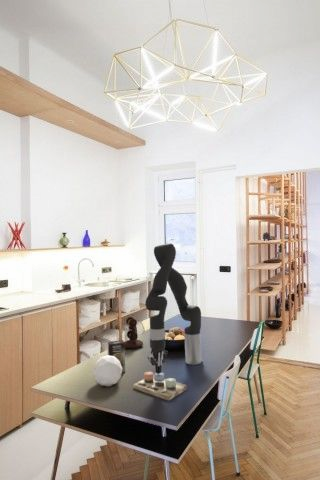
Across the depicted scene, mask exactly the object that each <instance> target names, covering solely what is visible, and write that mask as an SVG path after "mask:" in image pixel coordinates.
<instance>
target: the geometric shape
mask: <svg viewBox="0 0 320 480" xmlns="http://www.w3.org/2000/svg"><path fill="white" fill-rule="evenodd" d="M122 373H123V372H122V366H121V363H120V361H119V360H118V359H117V358H116V357H115V356H109V355H108V354H106V355H103V356H101V357H99V358H98V359H97V361H96V362H95V364H94V367H93V371H92V374H93V377H94V378H95V381H96V382H97V383H98V384H99V386H103V387H104V386H105V387H111V386H113V385H115V384H117V383H118V381H119V380H120V379H121V378H122Z"/></svg>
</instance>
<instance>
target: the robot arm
mask: <svg viewBox="0 0 320 480" xmlns="http://www.w3.org/2000/svg"><path fill="white" fill-rule="evenodd" d="M153 255H154V257H155V260H156V263H157V264H158V266H159V267H160V268H159V270H158V271H156V274H155V276H154V278H153V282H152V288H151V289H150V290H149V293H148V295H147V297H146V299H145V308H146V310H148V311H150V312H151V311H153V312H155V311H157V312H158V314H154V315H151V316H150V317H149V348H150V355H149V356H147V359H148V361H149V362H150V364H151V365H152V366H155V373H157V374H160V373H162V366H163V364H164V363H165V362H166V358H167V356H168V354H169V350H166V349H165V348H166V331H165V330H166V329H165V315H166V311H167V307H168V299H167V298H166V297H165V296H164V294H166V291H167V287H168V286H169V288H170V290H171V292H172V295H173V298H174V300H175V302H176V304H177V308H178V311H179V314H180V318H182V319H183V320H184V321H187V322H190V324H189V326H186V327H184V332H183V333H184V351H185V352H184V353H185V354H184V356H185V364H187V365H193V366H195V365H196V366H197V365H200V364H201V363H202V361H203V355H202V354H203V352H202V350H203V348H202V343H201V342H202V341H201V328H202V311H201V308H200V307H199V306H198V305H190V304H189V303H188V301H187V299H186V298H187V297H186V295H187V292H188V291H187V289H188V286H187V283H186V280H185V278H184V276H183V275H182V274H181V273H180V272H179V271H177V270H176V269H175V268H174V267H173V265H174V262H175V260H176V256H177V251H176V247H175V245H174V244H173V243H163V244H159V245H155V247H154V248H153ZM167 285H168V286H167Z"/></svg>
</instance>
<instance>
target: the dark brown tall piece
mask: <svg viewBox="0 0 320 480" xmlns="http://www.w3.org/2000/svg"><path fill="white" fill-rule="evenodd" d="M125 322H126V323H125V324H126V325H128V327H127V328H128V331H127V332H126V337H127V338H128V340H127V339H126V340H125V341H124V340H123V341H124V343H125V349H127V351H128V350H130V349H136V348H141V349H142V347H143V345H144V342H143V341H142V340H140V339H138V338H139V337H138V336H139V335H138V328H137V324H138V322H137V319H135V318H134V317H132V316H130V317H129V316H128V318H127V319H126V321H125Z"/></svg>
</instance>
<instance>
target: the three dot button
mask: <svg viewBox="0 0 320 480" xmlns="http://www.w3.org/2000/svg"><path fill="white" fill-rule="evenodd" d="M165 379H166V378H165V373H164V372H161V373H160V374H157V373H156V372H155V373H154V380H155V381H158V382H159V381H164V380H165Z"/></svg>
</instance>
